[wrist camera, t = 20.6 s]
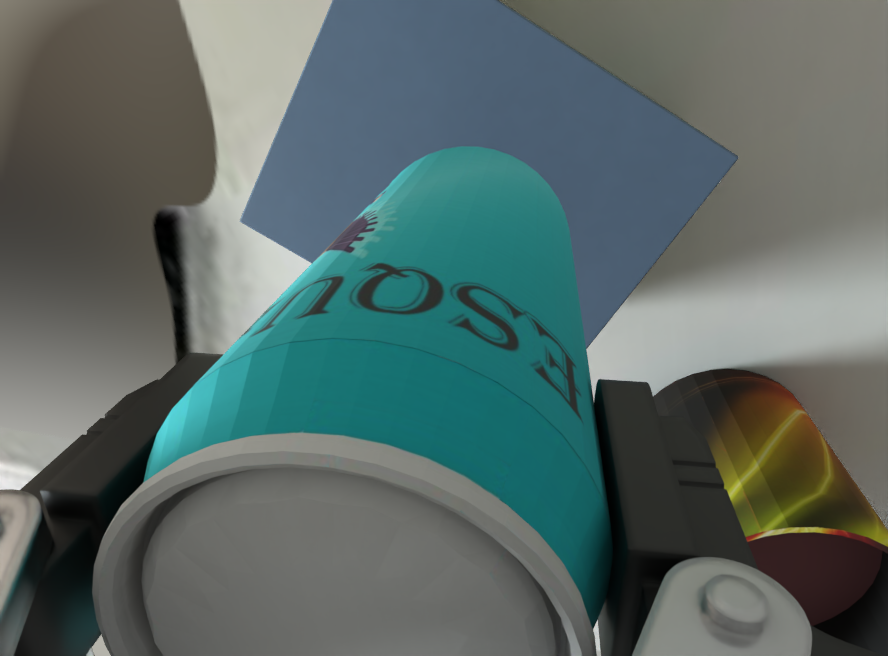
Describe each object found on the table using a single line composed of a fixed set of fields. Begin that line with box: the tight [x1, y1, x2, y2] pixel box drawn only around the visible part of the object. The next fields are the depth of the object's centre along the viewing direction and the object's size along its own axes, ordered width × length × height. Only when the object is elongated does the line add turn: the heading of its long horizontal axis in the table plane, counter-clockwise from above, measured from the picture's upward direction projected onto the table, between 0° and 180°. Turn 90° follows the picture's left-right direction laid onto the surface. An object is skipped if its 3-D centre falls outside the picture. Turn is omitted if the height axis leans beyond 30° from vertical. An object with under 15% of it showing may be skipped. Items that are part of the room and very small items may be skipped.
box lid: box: [240, 0, 739, 349], centre depth 23 cm, size 14×12×1 cm
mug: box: [653, 369, 888, 656], centre depth 31 cm, size 10×14×12 cm
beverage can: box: [92, 146, 613, 656], centre depth 13 cm, size 6×6×15 cm
